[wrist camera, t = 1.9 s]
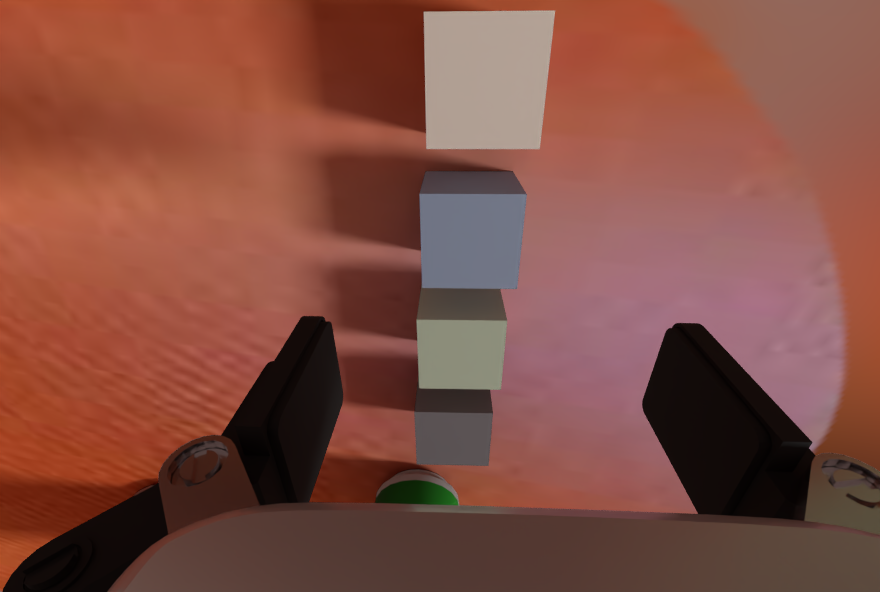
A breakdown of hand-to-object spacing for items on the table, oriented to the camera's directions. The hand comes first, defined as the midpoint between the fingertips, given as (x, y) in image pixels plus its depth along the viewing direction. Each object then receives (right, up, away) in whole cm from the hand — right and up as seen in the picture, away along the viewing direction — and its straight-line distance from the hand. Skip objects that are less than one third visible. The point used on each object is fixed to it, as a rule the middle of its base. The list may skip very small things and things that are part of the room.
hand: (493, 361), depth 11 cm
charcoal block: (-1, -5, +20) cm, 20 cm away
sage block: (0, +1, +16) cm, 16 cm away
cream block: (+1, +13, +9) cm, 16 cm away
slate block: (0, +7, +13) cm, 15 cm away
